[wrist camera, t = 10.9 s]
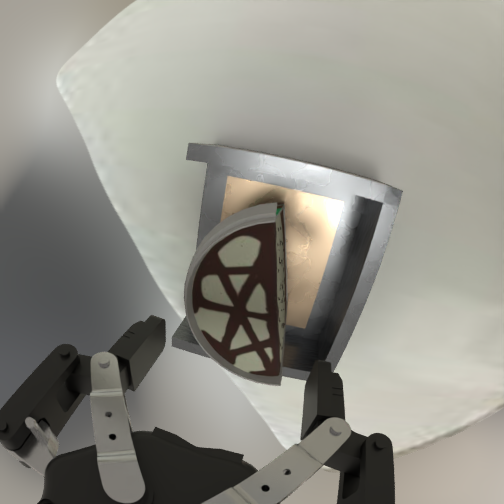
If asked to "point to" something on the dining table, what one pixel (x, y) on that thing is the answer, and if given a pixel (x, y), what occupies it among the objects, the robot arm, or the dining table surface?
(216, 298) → the food container
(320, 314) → the keeper cradle
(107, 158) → the dining table surface
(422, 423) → the dining table surface
